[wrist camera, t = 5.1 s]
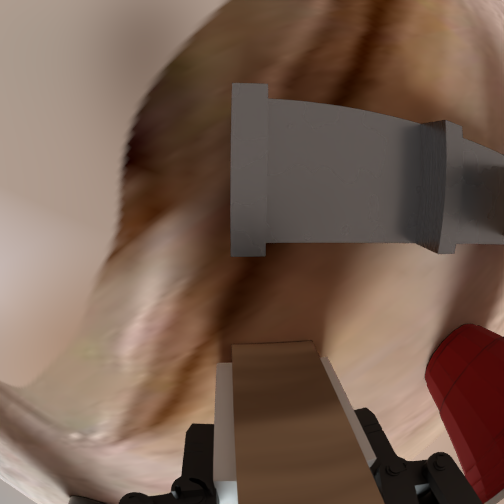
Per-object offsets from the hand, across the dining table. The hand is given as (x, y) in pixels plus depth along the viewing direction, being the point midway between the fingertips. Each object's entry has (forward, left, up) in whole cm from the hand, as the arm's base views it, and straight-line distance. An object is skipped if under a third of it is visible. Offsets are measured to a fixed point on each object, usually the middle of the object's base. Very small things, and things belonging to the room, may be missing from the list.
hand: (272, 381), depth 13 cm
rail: (+8, +10, -1) cm, 13 cm away
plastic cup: (+14, -2, -1) cm, 14 cm away
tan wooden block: (0, 0, -1) cm, 1 cm away
